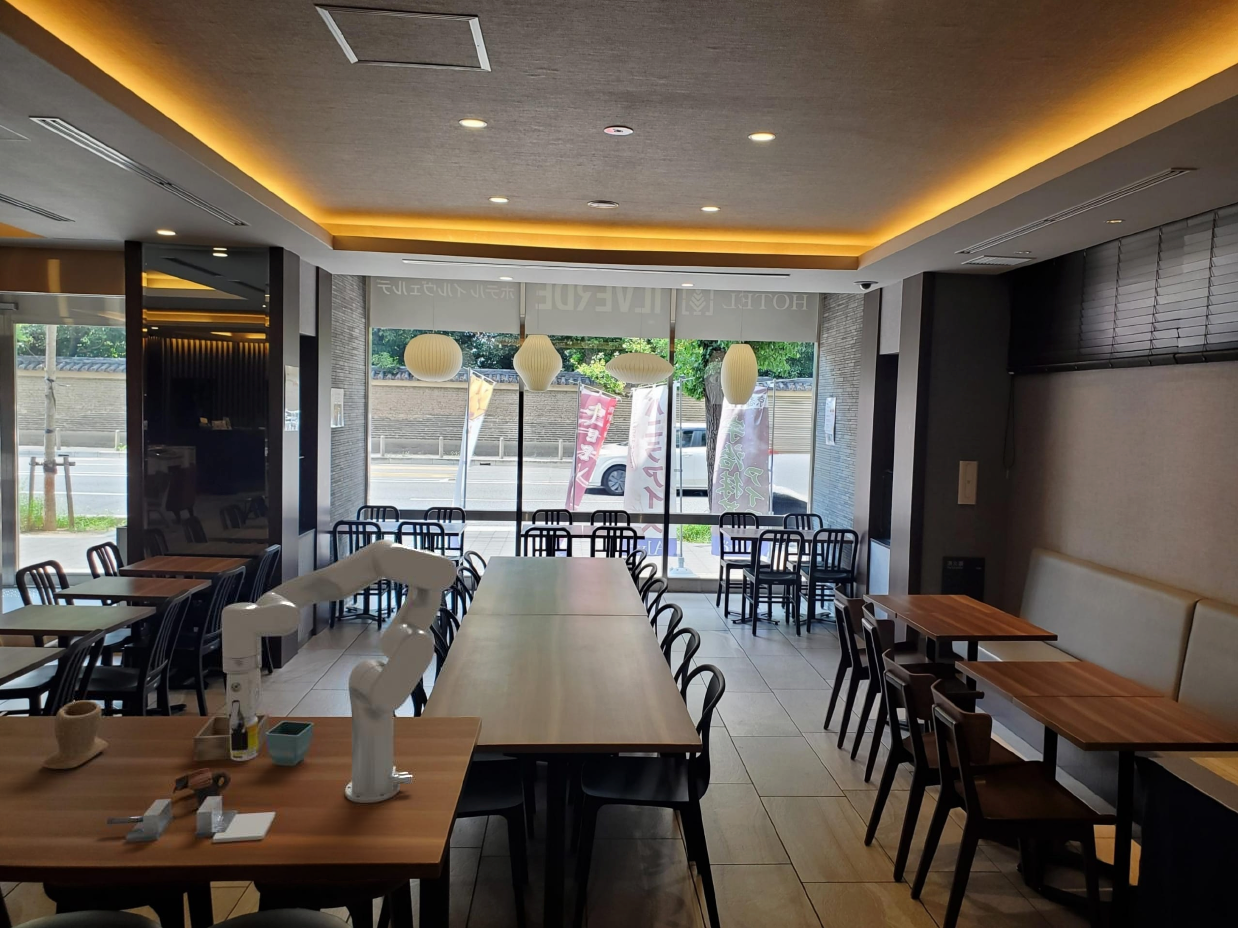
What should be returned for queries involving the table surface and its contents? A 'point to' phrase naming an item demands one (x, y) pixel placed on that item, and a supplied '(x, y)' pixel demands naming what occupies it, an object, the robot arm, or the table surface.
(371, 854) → the table surface
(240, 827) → the white coaster
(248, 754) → the supplement bottle
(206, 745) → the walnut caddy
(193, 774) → the pottery mug
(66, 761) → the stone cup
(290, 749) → the flower pot
